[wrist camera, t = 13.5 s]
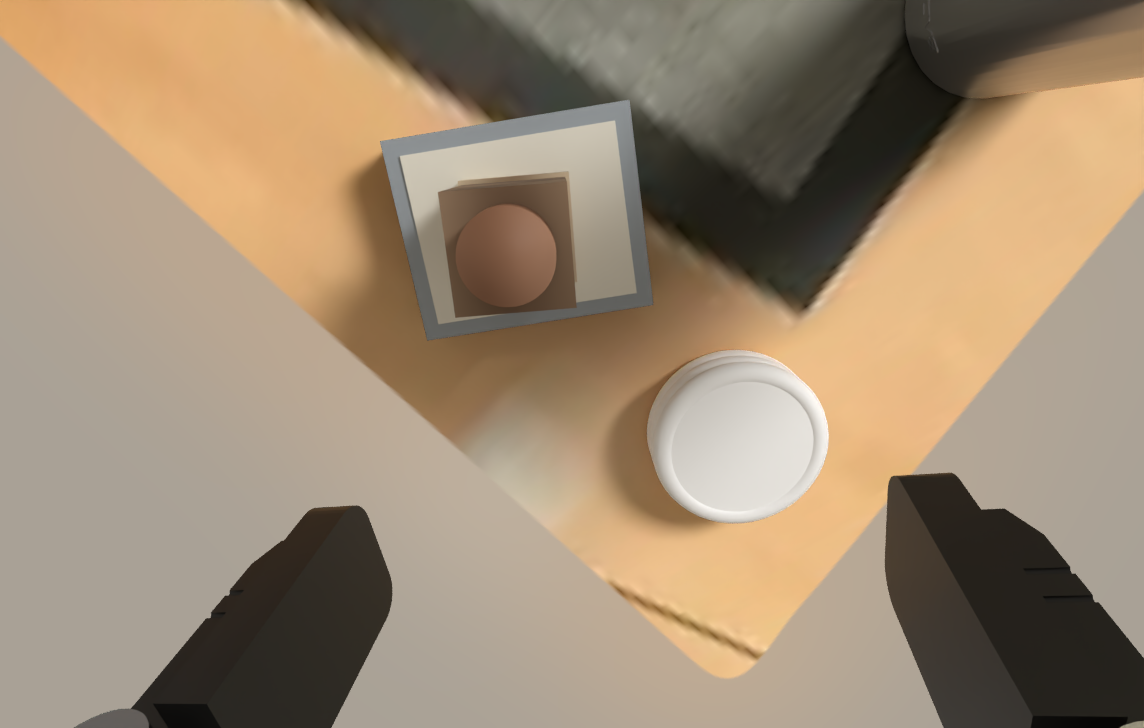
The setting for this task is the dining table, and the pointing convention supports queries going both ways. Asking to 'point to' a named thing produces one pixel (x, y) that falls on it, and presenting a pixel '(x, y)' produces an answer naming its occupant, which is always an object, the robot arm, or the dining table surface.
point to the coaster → (736, 436)
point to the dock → (522, 147)
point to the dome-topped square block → (510, 244)
